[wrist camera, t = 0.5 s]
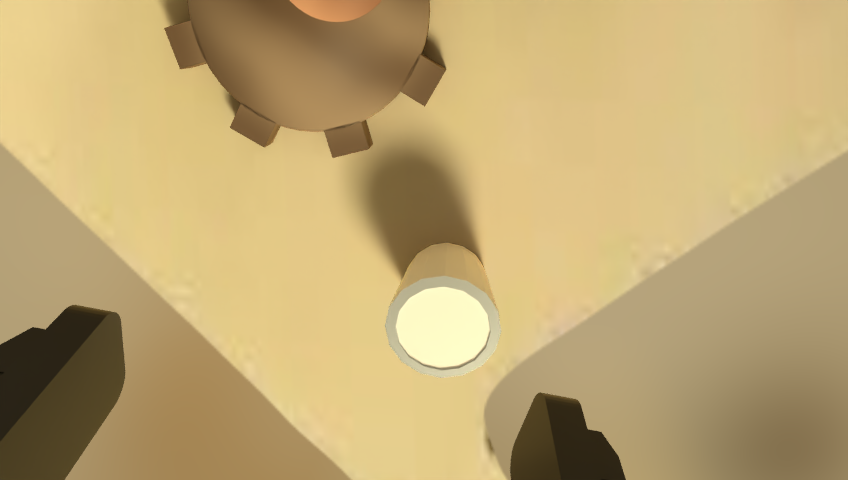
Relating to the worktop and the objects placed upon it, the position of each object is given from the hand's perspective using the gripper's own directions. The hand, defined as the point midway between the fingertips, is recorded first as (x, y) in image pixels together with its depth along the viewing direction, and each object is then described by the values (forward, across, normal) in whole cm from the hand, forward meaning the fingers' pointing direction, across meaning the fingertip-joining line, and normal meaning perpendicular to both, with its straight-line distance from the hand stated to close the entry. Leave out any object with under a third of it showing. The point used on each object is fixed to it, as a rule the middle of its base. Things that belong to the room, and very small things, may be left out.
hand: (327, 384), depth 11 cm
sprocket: (+28, +6, -2) cm, 29 cm away
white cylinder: (+25, -6, +14) cm, 29 cm away
